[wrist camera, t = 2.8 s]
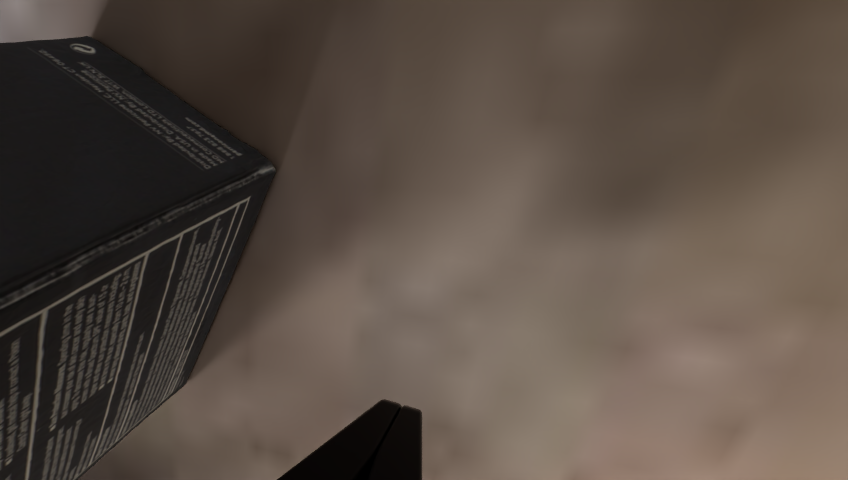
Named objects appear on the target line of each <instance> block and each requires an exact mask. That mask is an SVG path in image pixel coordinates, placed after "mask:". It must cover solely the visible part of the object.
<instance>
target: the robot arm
mask: <svg viewBox="0 0 848 480" xmlns="http://www.w3.org/2000/svg"><path fill="white" fill-rule="evenodd" d="M277 480H422V412H421V411H420V410H419V409H416V408H412V407H409V406H403V407H402V406H401V405H400V404H399V403H396V402H393V401H389V400H386V399H384V400H381V401H379V402H378V403H377V404H375V405H374V406H373V407H371V408H370V409H369V410H367V411H366V412H365V413H364V414H362V415H361V416H360V417H358V418H357V419H356V420H354V421H353V422H352V423H350V424H349V425H348V426H347V427H345V428H344V429H343V430H341V431H340V432H339V433H337V434H336V435H335V436H333V437H332V438H331V439H330V440H328V441H327V442H326V443H324V444H323V445H322V446H320V447H319V448H318V449H317V450H315V451H314V452H313V453H311V454H310V455H309V456H307V457H306V458H305V459H303V460H302V461H301V462H300V463H298V464H297V465H296V466H294V467H293V468H292V469H290V470H289V471H288V472H286V473H285V474H284V475H283V476H281V477H280V478H279V479H277Z"/></svg>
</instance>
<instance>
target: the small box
mask: <svg viewBox="0 0 848 480" xmlns="http://www.w3.org/2000/svg"><path fill="white" fill-rule="evenodd" d="M275 173H276V169H275V168H274V166H273V165H272V163H271V162H270V161H269V160H268V159H267V158H266V157H264V156H262V155H261V154H260V153H259V152H258V150H256V149H254V148H252V147H250V146H249V145H247V144H246V143H243V142H241V141H240V140H238V139H237V138H235V137H233V136H232V135H231V134H230V133H229V132H228V130H226V129H222V128H221V127H220V126H218V125H217V124H215V123H214V122H212V121H211V120H209V119H208V118H207V117H205V116H204V115H202V114H201V113H199V112H198V111H197V110H195V109H194V108H192V107H191V106H189V105H188V104H187V103H186V102H184V101H182V100H181V99H180V98H178V97H177V96H176V95H174V94H173V93H172V92H171V91H169V90H168V89H166V88H165V87H163V86H162V85H160V84H159V83H157V82H156V81H155V80H153V79H152V78H150V77H149V76H148V75H147V74H145V72H144V71H143V70H142V69H141V68H140V67H138V66H136V65H134V64H133V63H131V62H130V61H128V60H126V59H125V58H123V57H122V56H120V55H118V54H117V53H115V52H114V51H113V50H111V49H108V48H107V47H105V46H104V45H103V44H101V43H100V42H98V41H97V40H95V39H93V38H92V37H88V36H85V37H78V38H67V39H56V40H37V41H26V42H16V43H0V480H78V479H79V478H80V477H81V476H82V475H83V474H84V473H85V472H86V471H87V470H88V469H90V468H91V467H92V466H93V465H94V464H95V463H96V462H97V461H98V460H99V459H100V458H102V457H103V456H104V455H105V454H106V453H107V452H108V451H109V450H111V449H112V448H113V447H114V446H115V445H116V444H118V443H119V442H120V441H121V440H122V439H123V438H124V437H125V436H126V435H127V434H128V433H129V432H130V431H131V430H133V429H134V428H135V427H136V426H138V425H139V424H140V423H141V422H142V421H143V420H144V419H145V418H147V417H148V416H149V415H150V414H151V413H152V412H154V411H155V410H156V409H157V408H159V407H160V406H161V405H162V404H163V403H164V402H165V401H166V400H168V399H169V398H170V397H171V396H172V395H173V394H175V393H176V392H177V391H178V390H179V389H181V388H182V387H183V386H184V385H185V384H186V382H187V380H188V377H189V375H190V372H191V371H192V368H193V366H194V364H195V362H196V359H197V357H198V355H199V352H200V350H201V347H202V345H203V342H204V340H205V338H206V336H207V333H208V332H209V330H210V326H211V324H212V322H213V319H214V317H215V315H216V313H217V310H218V307H219V305H220V303H221V300H222V298H223V296H224V293H225V292H226V289H227V287H228V284H229V281H230V280H231V277H232V275H233V272H234V270H235V268H236V265H237V262H238V260H239V258H240V256H241V254H242V251H243V249H244V246H245V244H246V242H247V239H248V237H249V235H250V233H251V230H252V227H253V225H254V223H255V221H256V218H257V215H258V213H259V210H260V208H261V205H262V202H263V200H264V198H265V195H266V193H267V190H268V188H269V185H270V183H271V181H272V179H273V177H274V175H275Z"/></svg>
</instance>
